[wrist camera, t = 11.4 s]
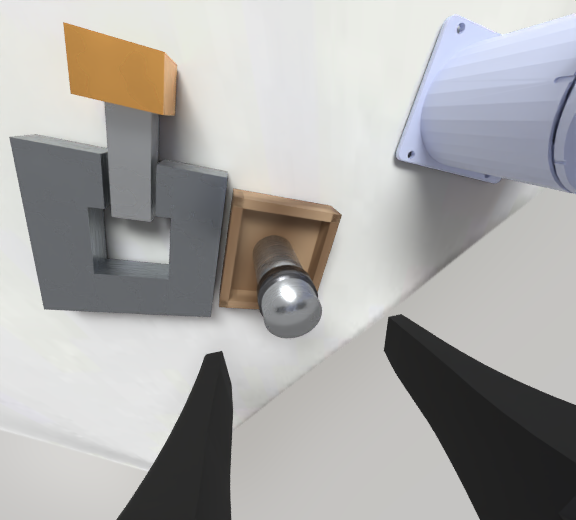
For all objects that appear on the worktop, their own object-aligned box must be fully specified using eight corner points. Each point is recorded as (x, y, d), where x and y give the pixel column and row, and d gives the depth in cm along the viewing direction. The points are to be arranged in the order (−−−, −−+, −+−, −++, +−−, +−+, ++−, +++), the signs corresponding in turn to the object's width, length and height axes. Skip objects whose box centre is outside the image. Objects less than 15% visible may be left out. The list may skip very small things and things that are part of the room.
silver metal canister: (293, 230, 19) (324, 283, 13) (296, 269, 21) (324, 333, 15) (247, 237, 19) (257, 295, 13) (253, 276, 20) (265, 345, 14)
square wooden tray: (331, 205, 19) (341, 214, 18) (304, 296, 23) (310, 312, 21) (233, 188, 18) (234, 196, 16) (219, 290, 21) (219, 307, 19)
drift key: (97, 42, 13) (63, 22, 10) (176, 64, 14) (164, 52, 11) (108, 204, 17) (84, 222, 14) (171, 213, 18) (160, 232, 15)
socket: (35, 134, 14) (9, 136, 13) (227, 171, 17) (227, 177, 15) (61, 291, 18) (44, 309, 17) (211, 300, 21) (210, 317, 19)
